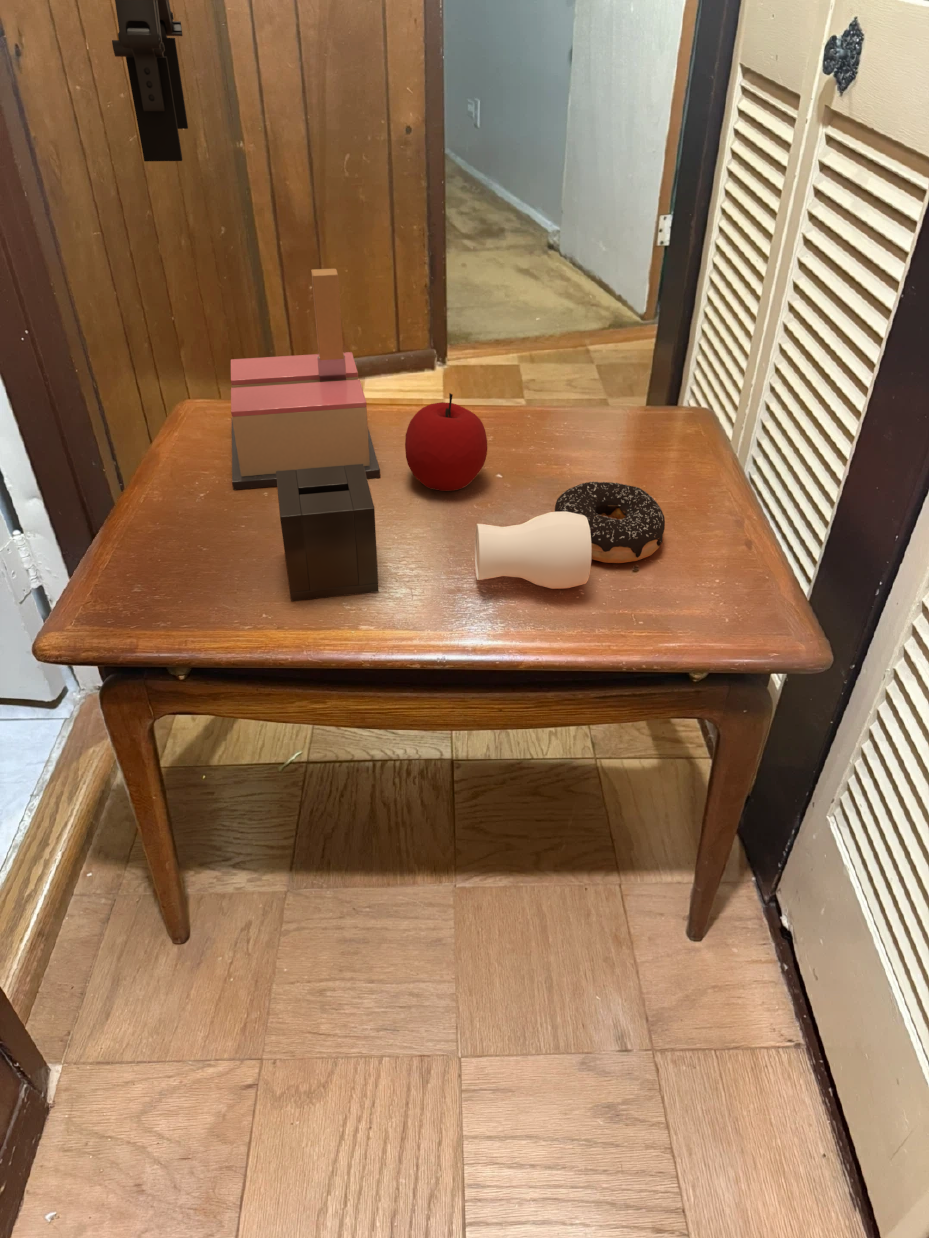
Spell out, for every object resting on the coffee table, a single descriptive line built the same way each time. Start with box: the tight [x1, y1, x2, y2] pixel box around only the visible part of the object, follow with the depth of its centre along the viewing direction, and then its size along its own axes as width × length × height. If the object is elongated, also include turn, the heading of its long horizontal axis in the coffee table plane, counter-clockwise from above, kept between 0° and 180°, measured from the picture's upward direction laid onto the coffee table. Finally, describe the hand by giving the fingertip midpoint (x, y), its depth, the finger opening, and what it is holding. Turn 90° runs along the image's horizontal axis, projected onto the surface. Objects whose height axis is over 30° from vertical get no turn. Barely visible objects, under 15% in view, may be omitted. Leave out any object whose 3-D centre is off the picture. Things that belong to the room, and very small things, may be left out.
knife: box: [310, 268, 346, 382], centre depth 95 cm, size 3×2×19 cm, turn 102°
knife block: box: [276, 464, 380, 602], centre depth 79 cm, size 8×8×9 cm
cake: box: [230, 351, 381, 491], centre depth 98 cm, size 16×16×9 cm
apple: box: [404, 392, 488, 492], centre depth 93 cm, size 9×9×10 cm
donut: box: [553, 481, 666, 564], centre depth 87 cm, size 11×12×4 cm
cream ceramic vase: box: [474, 511, 592, 590], centre depth 79 cm, size 7×7×10 cm
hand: (168, 143), depth 70 cm, fingers open, 13 cm apart
